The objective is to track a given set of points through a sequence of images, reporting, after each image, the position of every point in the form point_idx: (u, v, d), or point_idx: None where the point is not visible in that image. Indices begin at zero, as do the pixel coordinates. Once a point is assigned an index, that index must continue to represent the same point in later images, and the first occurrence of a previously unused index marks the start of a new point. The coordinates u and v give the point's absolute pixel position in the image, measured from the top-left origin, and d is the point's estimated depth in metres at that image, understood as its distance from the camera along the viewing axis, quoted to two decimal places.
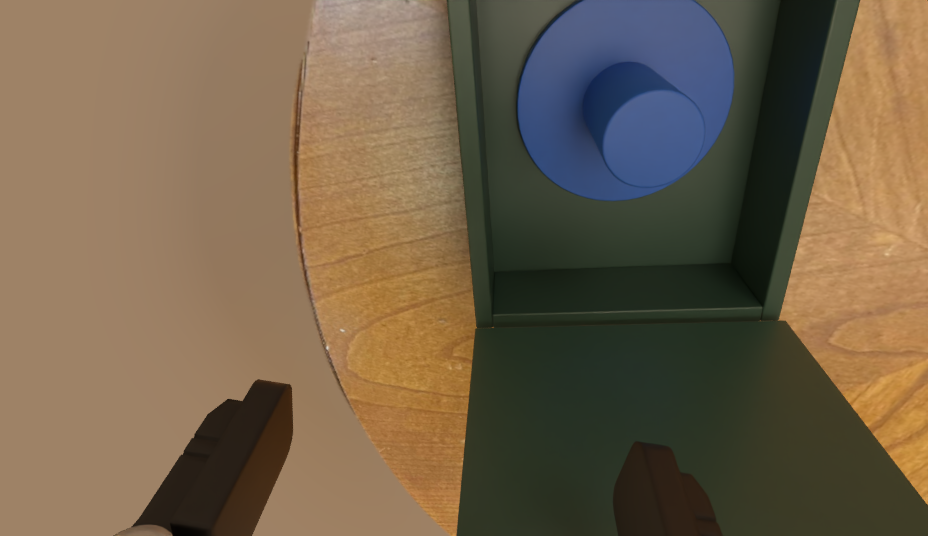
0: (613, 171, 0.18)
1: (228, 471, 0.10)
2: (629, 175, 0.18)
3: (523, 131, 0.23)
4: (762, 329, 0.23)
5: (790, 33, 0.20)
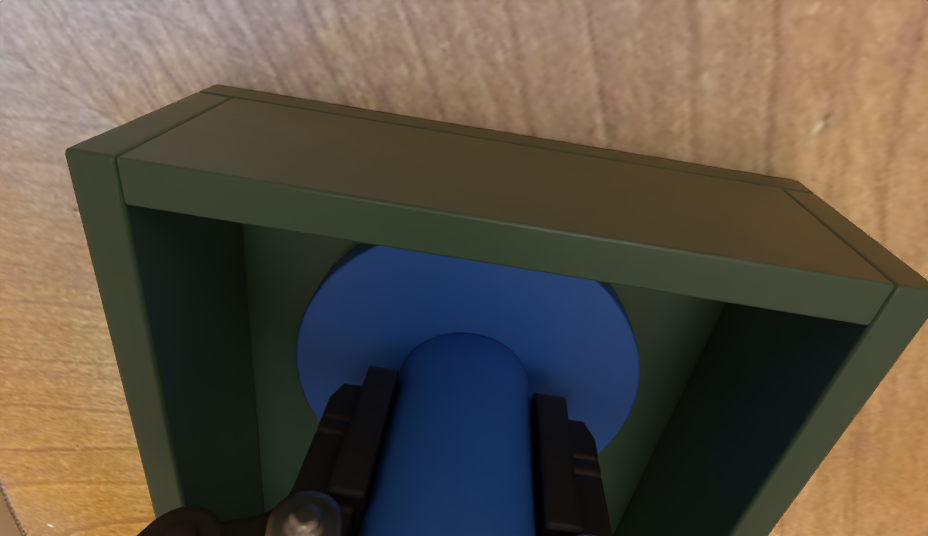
0: None
1: (366, 446, 0.10)
2: None
3: (305, 383, 0.14)
4: None
5: (731, 366, 0.12)
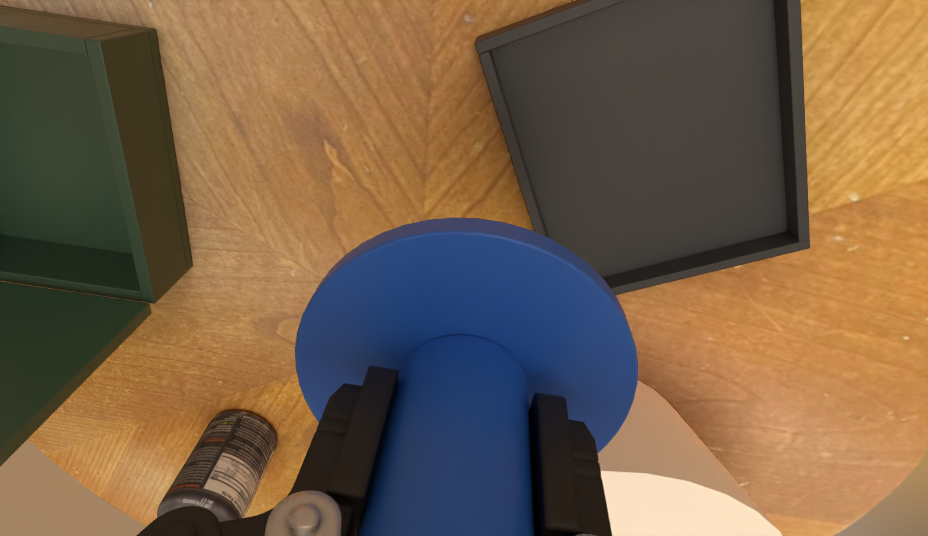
0: None
1: (366, 446, 0.10)
2: None
3: (304, 384, 0.14)
4: (124, 306, 0.32)
5: None
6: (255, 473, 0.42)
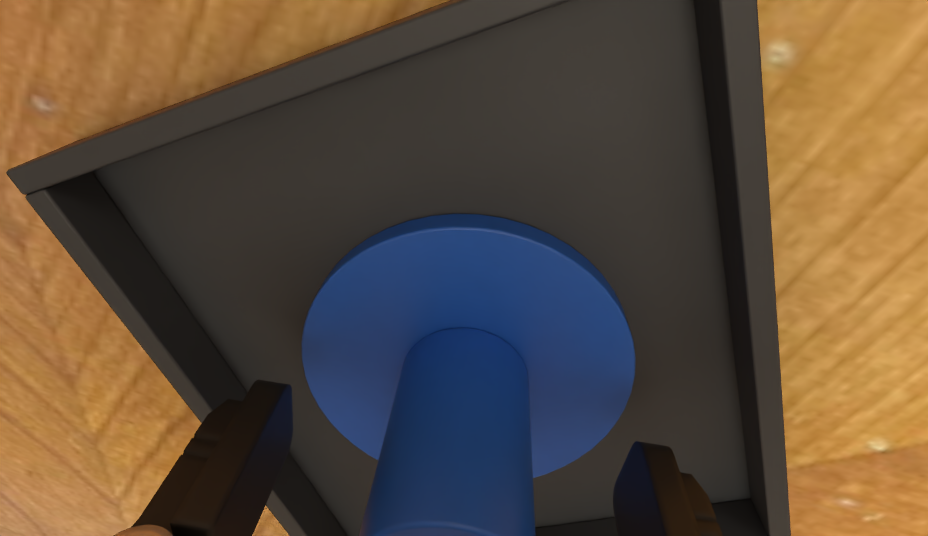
0: None
1: (228, 471, 0.10)
2: None
3: (310, 376, 0.15)
4: None
5: None
6: None
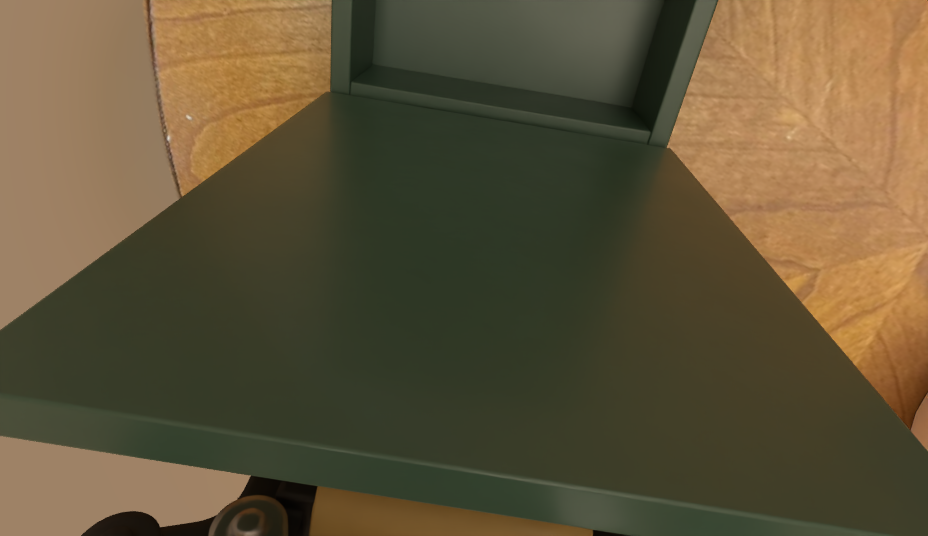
0: None
1: None
2: None
3: None
4: (644, 148, 0.20)
5: None
6: None
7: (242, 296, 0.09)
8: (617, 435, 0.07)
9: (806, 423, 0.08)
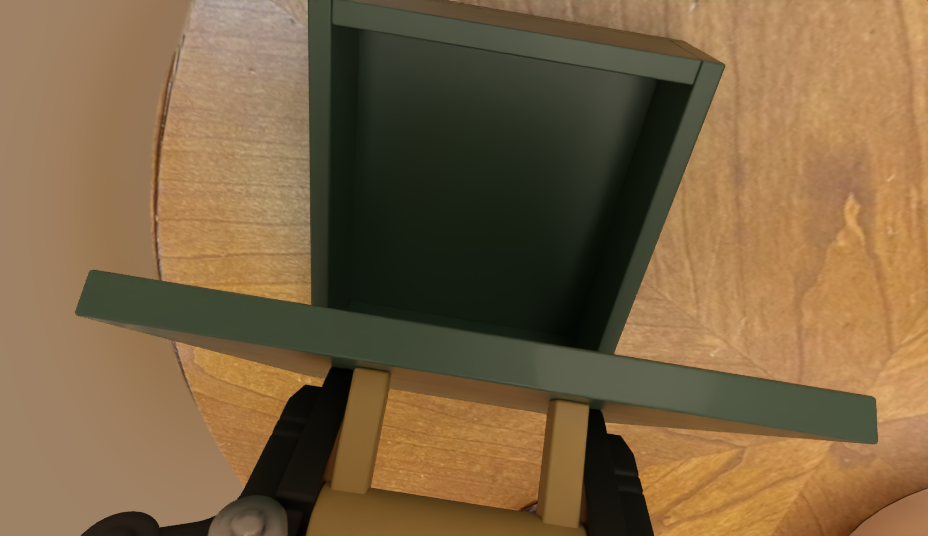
0: None
1: (320, 449, 0.10)
2: None
3: None
4: None
5: (645, 150, 0.21)
6: None
7: None
8: None
9: None
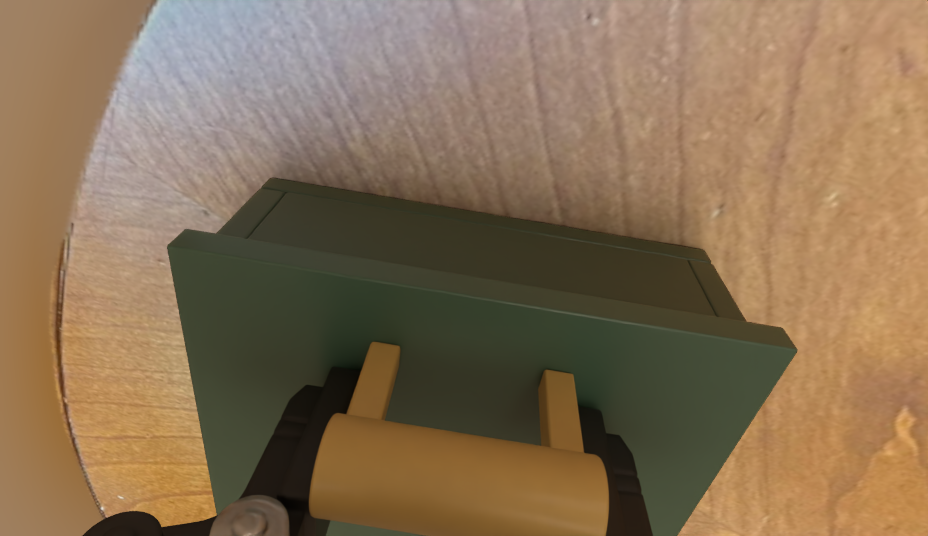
0: None
1: None
2: None
3: None
4: None
5: None
6: None
7: None
8: None
9: None
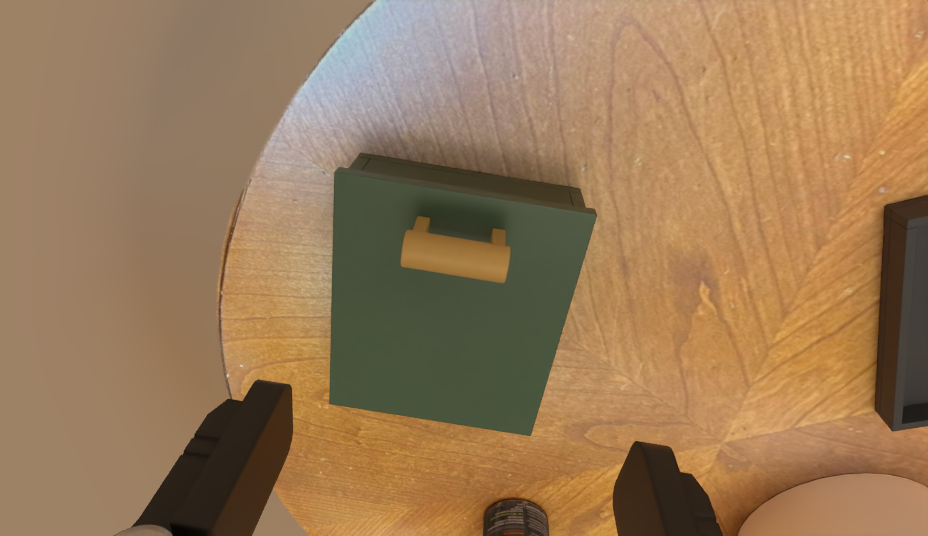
0: None
1: (228, 471, 0.10)
2: None
3: None
4: None
5: None
6: None
7: None
8: None
9: None
